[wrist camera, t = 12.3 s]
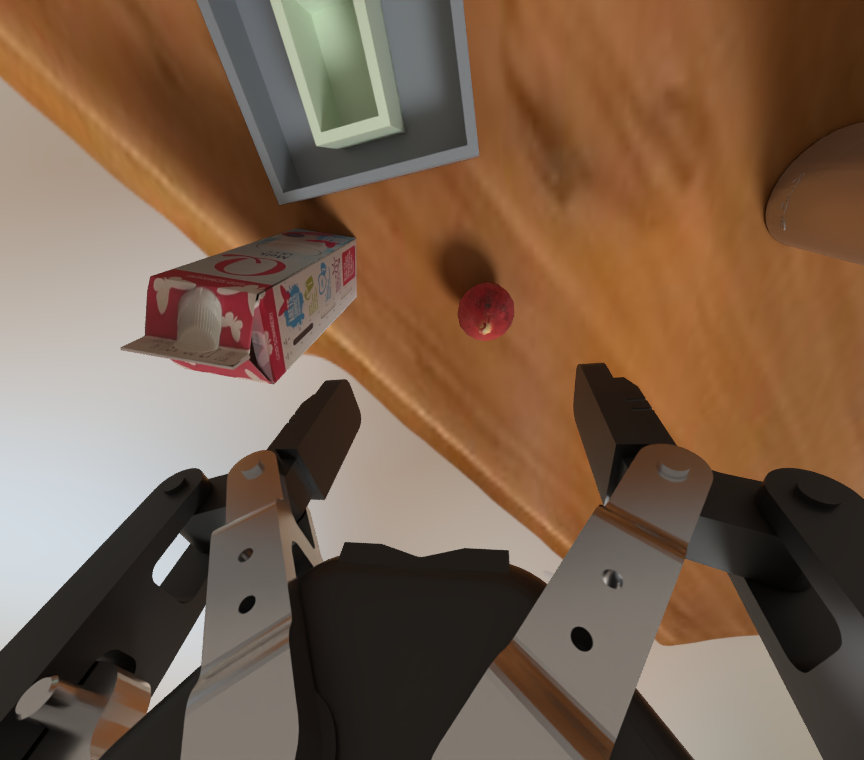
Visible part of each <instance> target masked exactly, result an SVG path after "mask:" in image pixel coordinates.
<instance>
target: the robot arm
mask: <svg viewBox="0 0 864 760" xmlns="http://www.w3.org/2000/svg"><path fill="white" fill-rule="evenodd" d="M766 225H767V228H768V230H769V233H770V234H771V235H772V236H773V238H774V239H775V240H777V241H778V242H780V243H782V244H784V245H788V246H792V247H795V248H799V249H803V250H807V251H811V252H815V253H818V254H822V255H825V256H829V257H833V258H837V259H841V260H845V261H849V262H852V263H856V264H860V265H864V122H862V123H857V124H852V125H849V126H847V127H844V128H841V129H839V130H836V131H834V132H832V133H831V134H829V135H827V136H825V137H824V138H822V139H820V140H818V141H817V142H816V143H814V144H813V145H812V146H810V147H809V148H808V149H806V150H805V151H804V152H803V153H802V154H801V155H800V156H799V157H798V158H797V159H795V160H794V161H793V162H792V163H791V165H790V166H789V167H788V168H787V169H786V171H785V172H784V173H783V174H782V176H781V177H780V179H779V180H778V182H777V184H776V185H775V187H774V188H773V191H772V193H771V195H770V198H769V200H768V204H767V209H766ZM573 406H574V417H575V421H576V424H577V427H578V430H579V433H580V436H581V439H582V442H583V445H584V448H585V451H586V454H587V457H588V460H589V463H590V466H591V469H592V472H593V475H594V478H595V481H596V484H597V487H598V490H599V493H600V496H601V499H602V502H603V505H604V506H603V505H599V506H598V507H597V508H596V509H595V511H594V512H593V514H592V515H591V517H590V518H589V520H588V521H587V523H586V525H585V526H584V528H583V529H582V531H581V533H580V534H579V536H578V537H577V539H576V540H575V542H574V544H573V545H572V547H571V548H570V550H569V551H568V553H567V555H566V556H565V558H564V559H563V561H562V562H561V564H560V566H559V567H558V569H557V570H556V572H555V573H554V575H553V577H552V578H551V580H550V581H549V583H548V585H547V584H546V583H545V582H544V581H542V580H541V579H540V578H538V577H536V576H535V575H533V574H532V573H530V572H528V571H526V570H524V569H522V568H519V567H517V566H514V565H511V564H509V551H508V550H489V549H469V548H464V549H459V550H454V551H450V552H445V553H440V554H436V555H430V556H426V557H417V556H414V555H411V554H408V553H406V552H403V551H400V550H397V549H394V548H391V547H389V546H386V545H383V544H370V543H351V542H345V543H344V546H343V548H342V551H341V554H340V556H337V557H334V558H331V559H328V560H326V561H324V562H323V559H322V556H321V553H320V549H319V545H318V541H317V537H316V533H315V529H314V525H313V521H312V517H311V513H310V510H309V508H308V507H307V505H308V503H309V502H310V500H311V499H316V500H325V498H326V496H327V494H328V492H329V490H330V488H331V486H332V484H333V482H334V480H335V478H336V475H337V473H338V471H339V469H340V467H341V465H342V463H343V461H344V459H345V457H346V455H347V453H348V451H349V448H350V446H351V444H352V442H353V440H354V438H355V436H356V434H357V432H358V430H359V428H360V424H361V414H360V410H359V407H358V405H357V402H356V399H355V397H354V394H353V391H352V389H351V386H350V384H349V382H348V381H347V380H345V379H343V380H329V381H325V382H324V383H323V384H322V386H321V387H320V389H319V390H318V391H317V392H316V394H314V395H312V396H311V397H310V398H308V399H307V400H306V401H304V402H303V403H302V404H301V405H300V407H299V408H298V409H297V411H296V412H295V415H293V416H292V417H291V419H290V420H289V423H287V424H286V425H285V426H284V428H283V429H282V430H281V432H280V433H279V434H278V436H277V437H276V438H275V440H274V441H273V442H272V443H271V445H270V446H269V447H268V449H267V450H262V451H258V452H254V453H252V454H250V455H248V456H246V457H244V458H243V459H241V460H240V461H239V462H238V463H237V464H235V465H234V466H233V468H232V469H231V470H230V472H229V474H226V475H222V476H218V477H214V478H211V479H208V478H207V477H206V476H205V475H204V474H203V472H202V471H201V470H200V469H196V468H192V469H187V470H183V471H181V472H178V473H176V474H174V475H173V476H171V477H169V478H168V479H166V480H165V481H163V482H162V483H161V484H160V485H159V486H158V487H157V488H156V489H155V490H154V491H153V492H152V493H151V494H150V495H149V496H148V497H147V498H146V499H145V500H144V502H142V503H141V505H139V507H138V508H137V509H136V510H135V511H134V512H133V513H132V514H131V515H130V516H129V517H128V518H127V519H126V520H125V521H124V522H123V523H122V524H121V526H120V527H119V528H118V529H117V530H116V531H115V532H114V533H113V534H112V535H111V536H110V537H109V538H108V539H107V540H106V541H105V542H104V543H103V544H102V545H101V546H100V547H99V549H98V550H97V551H96V552H95V553H94V554H93V555H92V556H91V557H90V558H89V559H88V560H87V561H86V562H85V563H84V564H83V565H82V566H81V567H80V568H79V570H78V571H77V572H76V573H75V574H74V575H73V576H72V577H71V578H70V579H69V580H68V581H67V582H66V583H65V584H64V585H63V586H62V587H61V588H60V589H59V590H58V592H57V593H56V594H55V595H54V596H53V597H52V598H51V599H50V600H49V601H48V602H47V603H46V604H45V605H44V606H43V607H42V608H41V609H40V611H38V613H37V614H36V615H35V616H34V617H33V618H32V619H31V620H30V621H29V622H28V623H27V624H26V625H25V626H24V627H23V628H22V629H21V630H20V631H19V632H18V633H17V635H16V636H15V637H14V638H13V639H12V640H11V641H10V642H9V643H8V644H7V645H6V646H5V647H4V648H3V649H2V650H1V651H0V760H694V759H693V757H692V756H691V755H690V754H689V753H688V751H687V750H686V749H685V748H684V746H683V745H682V744H681V743H680V742H679V740H678V739H677V738H676V737H675V735H674V734H673V733H672V732H671V731H670V729H669V728H668V727H667V726H666V724H665V723H664V722H663V721H662V719H661V718H660V717H659V716H658V715H657V713H656V712H655V711H654V710H653V708H652V707H651V706H650V705H649V704H648V702H647V701H646V700H645V699H644V697H643V696H642V695H641V694H640V693H639V692H638V690H637V689H636V686H637V683H638V680H639V678H640V675H641V673H642V670H643V667H644V664H645V662H646V659H647V657H648V654H649V651H650V649H651V646H652V644H653V641H654V638H655V636H656V633H657V630H658V628H659V625H660V623H661V620H662V617H663V615H664V612H665V609H666V607H667V604H668V602H669V599H670V596H671V594H672V591H673V588H674V586H675V583H676V581H677V578H678V575H679V573H680V570H681V567H682V565H683V562H684V559H688V560H691V561H694V562H697V563H701V564H704V565H707V566H710V567H713V568H716V569H719V570H722V571H725V572H727V573H728V575H729V577H730V579H731V581H732V583H733V585H734V587H735V588H736V590H737V592H738V594H739V596H740V598H741V600H742V602H743V604H744V606H745V608H746V610H747V612H748V614H749V616H750V618H751V620H752V622H753V624H754V625H755V627H756V629H757V631H758V633H759V635H760V637H761V639H762V641H763V643H764V645H765V647H766V649H767V651H768V653H769V655H770V657H771V658H772V661H773V662H774V664H775V666H776V668H777V670H778V672H779V674H780V676H781V678H782V680H783V682H784V684H785V686H786V688H787V690H788V692H789V694H790V696H791V697H792V699H793V701H794V703H795V705H796V707H797V709H798V711H799V713H800V715H801V717H802V718H803V721H804V723H805V725H806V727H807V729H808V731H809V733H810V734H811V737H812V738H813V740H814V742H815V744H816V746H817V748H818V750H819V752H820V754H821V756H822V758H823V760H864V499H863V498H862V497H861V496H859V495H858V494H857V493H856V492H854V491H853V490H852V489H850V488H848V487H847V486H845V485H843V484H842V483H840V482H838V481H836V480H834V479H831V478H829V477H827V476H824V475H821V474H818V473H815V472H812V471H808V470H803V469H796V468H781V469H776V470H773V471H771V472H770V473H768V474H767V476H766V477H765V479H764V481H763V482H761V481H756V480H752V479H747V478H742V477H737V476H733V475H728V474H724V473H720V472H716V471H713V470H711V468H710V467H709V465H708V464H707V463H706V462H705V461H704V460H703V459H702V458H701V457H699V456H698V455H696V454H695V453H693V452H691V451H689V450H687V449H684V448H682V447H679V446H677V445H676V444H675V442H674V441H673V439H672V438H671V436H670V435H669V433H668V432H667V430H666V429H665V427H664V426H663V424H662V423H661V421H660V419H659V418H658V416H657V415H656V413H655V412H654V410H652V407H651V406H650V404H649V403H648V401H647V400H645V397H644V395H643V394H642V392H641V391H640V389H639V388H638V386H636V385H635V384H633V383H632V382H630V381H629V380H627V379H626V378H624V377H620V378H613V376H612V375H611V373H610V371H609V369H608V368H607V366H606V364H605V363H592V364H578V366H577V369H576V380H575V392H574V405H573ZM179 533H180V534H181V535H182V536H183V537H185V539H187V540H188V541H189V542H190V543H191V544H190V545H189V546H188V548H187V549H186V551H185V552H184V553H183V555H182V556H181V558H180V559H179V560H178V562H177V563H176V565H175V566H174V567H173V569H172V570H171V572H170V573H169V574H168V576H167V577H166V578H165V580H164V581H163V582H162V584H161V585H160V587H159V586H158V585H156V584H155V583H154V581H153V578H152V572H153V569H154V566H155V564H156V563H157V561H158V560H159V559H160V557H161V556H162V555H163V553H164V552H165V551H166V549H167V548H168V547H169V546H170V544H171V543H172V542H173V540H174V539H175V538H176V537H177V535H178V534H179ZM205 605H206V610H205V623H204V636H203V650H202V663H201V666H200V667H199V668H197V669H196V670H195V671H194V672H193V673H192V674H191V675H190V676H188V677H187V678H186V679H185V680H184V681H183V682H182V683H181V684H179V685H178V686H177V687H176V688H175V689H174V690H173V691H172V692H171V693H169V694H168V695H167V696H166V697H165V698H164V699H163V700H162V701H161V702H159V703H158V704H157V705H156V706H155V707H154V708H153V709H152V710H151V711H149V712H148V713H146V712H147V710H148V707H149V703H150V699H151V697H152V695H153V694H154V692H155V690H156V688H157V687H158V685H159V683H160V682H161V680H162V678H163V676H164V675H165V673H166V671H167V670H168V668H169V666H170V665H171V663H172V661H173V660H174V658H175V656H176V654H177V653H178V651H179V649H180V648H181V646H182V644H183V643H184V641H185V639H186V637H187V636H188V634H189V632H190V631H191V629H192V627H193V626H194V624H195V622H196V620H197V619H198V617H199V615H200V613H201V612H202V610H203V608H204V607H205Z"/></svg>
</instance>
